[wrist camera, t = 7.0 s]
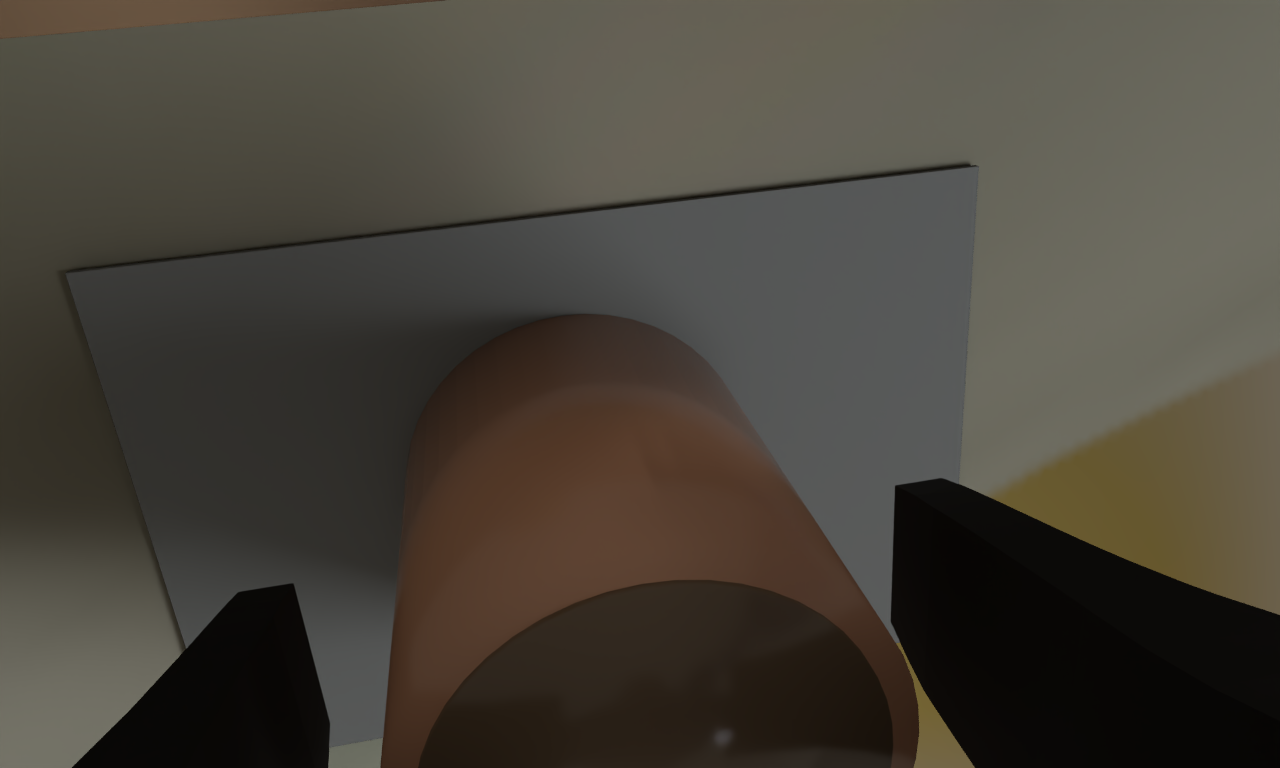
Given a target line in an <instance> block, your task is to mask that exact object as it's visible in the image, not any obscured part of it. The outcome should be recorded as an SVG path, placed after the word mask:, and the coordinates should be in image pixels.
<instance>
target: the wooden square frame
mask: <svg viewBox="0 0 1280 768" xmlns="http://www.w3.org/2000/svg"><path fill="white" fill-rule="evenodd" d="M432 1H444V0H0V39H3V38H15V37H26V36H38V35H49V34H61V33H73V32H84V31H96V30H107V29H119V28H131V27H142V26H154V25H165V24H177V23H189V22H200V21H212V20H223V19H235V18H247V17H258V16H270V15H281V14H293V13H305V12H316V11H328V10H339V9H351V8H363V7H374V6H386V5H397V4H409V3H421V2H432Z"/></svg>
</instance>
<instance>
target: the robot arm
mask: <svg viewBox="0 0 1280 768" xmlns="http://www.w3.org/2000/svg"><path fill="white" fill-rule="evenodd" d="M891 624H892V626H893V628H894V630H895V632H896V635H897V637H898V639H899V641H900V643H901V645H902V647H903V649H904V652H905V654H906V656H907V658H908V660H909V662H910V664H911V666H912V668H913V670H914V672H915V674H916V676H917V678H918V680H919V682H920V684H921V686H922V687H923V690H924V691H925V693H926V694H927V696H928V697H929V699H930V701H931V702H932V704H933V705H934V707H935V708H936V710H937V711H938V713H939V714H940V716H941V717H942V719H943V721H944V722H945V723H946V725H947V726H948V728H949V729H950V731H951V733H952V734H953V736H954V737H955V739H956V740H957V742H958V743H959V744H960V746H961V748H962V749H963V751H964V752H965V753H966V755H967V756H968V758H969V759H970V761H971V762H972V764H973V765H974V767H975V768H1280V615H1277V614H1275V613H1272V612H1269V611H1266V610H1263V609H1259V608H1256V607H1253V606H1250V605H1247V604H1244V603H1241V602H1238V601H1235V600H1232V599H1229V598H1226V597H1223V596H1220V595H1216V594H1214V593H1211V592H1208V591H1206V590H1203V589H1200V588H1197V587H1194V586H1192V585H1189V584H1186V583H1184V582H1181V581H1178V580H1176V579H1173V578H1171V577H1168V576H1166V575H1163V574H1161V573H1158V572H1156V571H1153V570H1151V569H1148V568H1146V567H1143V566H1141V565H1138V564H1136V563H1133V562H1131V561H1128V560H1126V559H1124V558H1121V557H1119V556H1117V555H1114V554H1112V553H1110V552H1107V551H1105V550H1103V549H1100V548H1098V547H1096V546H1094V545H1091V544H1089V543H1087V542H1085V541H1082V540H1080V539H1078V538H1076V537H1074V536H1071V535H1069V534H1067V533H1065V532H1063V531H1060V530H1058V529H1056V528H1054V527H1051V526H1050V525H1047V524H1045V523H1043V522H1041V521H1039V520H1037V519H1034V518H1032V517H1030V516H1028V515H1026V514H1024V513H1022V512H1020V511H1017V510H1015V509H1013V508H1011V507H1009V506H1007V505H1005V504H1003V503H1000V502H998V501H996V500H994V499H992V498H989V497H987V496H985V495H983V494H981V493H978V492H976V491H974V490H972V489H969V488H967V487H965V486H962V485H960V484H957V483H955V482H952V481H949V480H946V479H943V478H938V479H932V480H925V481H919V482H913V483H907V484H901V485H895V498H894V529H893V560H892V592H891ZM329 740H330V720H329V717H328V713H327V709H326V705H325V701H324V697H323V694H322V690H321V686H320V682H319V678H318V674H317V671H316V667H315V663H314V659H313V655H312V651H311V648H310V644H309V640H308V636H307V632H306V629H305V625H304V621H303V617H302V613H301V609H300V606H299V602H298V598H297V594H296V590H295V586H294V583H290V584H284V585H278V586H272V587H266V588H259V589H253V590H247V591H241V592H238V593H237V594H236V595H235V596H234V597H233V598H232V599H231V600H230V601H229V602H228V603H227V604H226V605H225V606H224V607H223V608H222V609H221V611H220V612H219V613H218V614H217V615H216V616H215V617H214V618H213V619H212V621H211V622H210V623H209V624H208V625H207V626H206V627H205V628H204V629H203V631H202V632H201V633H200V634H199V635H198V636H197V637H196V638H195V640H194V641H193V642H192V643H191V644H190V645H189V646H188V647H187V649H186V650H185V651H184V652H183V653H182V654H181V655H180V656H179V658H178V659H177V660H176V661H175V662H174V663H173V664H172V665H171V666H170V667H169V668H168V669H167V671H166V672H165V673H164V674H163V675H162V676H161V677H160V678H159V679H158V680H157V681H156V683H155V684H154V685H153V686H152V687H151V688H150V689H149V690H148V691H147V692H146V693H145V694H144V696H143V697H142V698H141V699H140V700H139V701H138V702H137V703H136V704H135V705H134V706H133V707H132V708H131V709H130V711H129V712H128V713H127V714H126V715H125V716H124V717H123V718H122V719H121V720H120V721H119V722H118V723H116V724H115V725H114V726H113V727H112V728H111V729H110V730H109V731H108V732H107V733H106V734H105V735H104V736H103V737H102V738H101V739H100V740H99V741H98V742H97V743H96V744H95V745H94V746H93V747H92V748H91V749H90V750H89V751H88V752H87V753H86V754H85V755H84V756H83V757H82V758H81V759H80V760H79V761H78V762H77V763H76V764H75V765H74V766H73V767H72V768H328V760H329Z"/></svg>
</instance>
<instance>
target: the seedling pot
mask: <svg viewBox="0 0 1280 768" xmlns="http://www.w3.org/2000/svg"><path fill="white" fill-rule="evenodd" d="M918 719H919V716H918V703H917V698H916V693H915V689H914V683H913V679H912V677H911V674H910V671H909V669H908V667H907V664H906V662H905V659H904V656H903V654H902V653H901V651H900V649H899V648H898V646H897V645H896V643H895V641H894V640H893V638H892V636H891V635H890V633H889V631H888V630H887V628H886V627H885V625H884V624H883V622H882V621H881V619H880V618H879V616H878V615H877V613H876V612H875V610H874V609H873V607H872V606H871V604H870V603H869V601H868V600H867V598H866V597H865V595H864V594H863V592H862V591H861V589H860V588H859V586H858V584H857V583H856V581H855V580H854V578H853V577H852V575H851V574H850V572H849V571H848V569H847V568H846V566H845V565H844V563H843V562H842V560H841V559H840V557H839V556H838V554H837V553H836V551H835V550H834V548H833V547H832V545H831V544H830V542H829V541H828V539H827V538H826V536H825V535H824V533H823V531H822V530H821V528H820V527H819V525H818V524H817V522H816V521H815V519H814V518H813V516H812V515H811V513H810V512H809V510H808V509H807V507H806V506H805V504H804V503H803V501H802V500H801V498H800V497H799V495H798V494H797V492H796V491H795V489H794V488H793V486H792V485H791V483H790V482H789V480H788V478H787V477H786V475H785V474H784V472H783V471H782V469H781V468H780V466H779V465H778V463H777V462H776V460H775V459H774V457H773V456H772V454H771V453H770V451H769V450H768V448H767V447H766V445H765V444H764V442H763V441H762V439H761V438H760V436H759V435H758V433H757V432H756V430H755V429H754V427H753V425H752V424H751V422H750V421H749V419H748V418H747V416H746V415H745V413H744V412H743V410H742V409H741V407H740V406H739V404H738V403H737V401H736V400H735V398H734V397H733V395H732V394H731V392H730V391H729V389H728V388H727V386H726V385H725V383H724V382H723V380H722V379H721V377H720V376H719V375H718V373H717V372H716V371H715V370H714V369H713V368H712V366H711V365H710V364H709V363H708V362H707V361H706V360H705V359H704V358H703V357H702V356H701V355H699V354H698V353H697V352H696V351H695V350H694V349H693V348H692V347H690V346H688V345H687V344H685V343H684V342H682V341H681V340H679V339H678V338H676V337H675V336H673V335H671V334H669V333H667V332H665V331H663V330H661V329H658V328H656V327H654V326H651V325H648V324H645V323H642V322H639V321H636V320H633V319H628V318H622V317H617V316H611V315H596V314H579V315H565V316H558V317H553V318H548V319H543V320H538V321H535V322H532V323H529V324H526V325H523V326H520V327H517V328H515V329H513V330H510V331H508V332H506V333H504V334H502V335H500V336H498V337H496V338H494V339H492V340H491V341H489V342H487V343H486V344H484V345H483V346H481V347H480V348H478V349H477V350H475V351H474V352H472V353H471V354H470V355H469V356H468V357H466V358H465V359H464V360H463V361H462V362H460V363H459V364H458V365H457V366H456V367H455V368H454V369H453V370H452V371H451V372H450V373H449V374H448V375H447V377H446V378H445V379H444V380H443V381H442V382H441V383H440V384H439V386H438V387H437V389H436V390H435V392H434V393H433V395H432V396H431V397H430V399H429V400H428V402H427V404H426V406H425V408H424V410H423V412H422V414H421V416H420V418H419V420H418V422H417V425H416V428H415V431H414V434H413V437H412V439H411V443H410V449H409V454H408V460H407V469H406V480H405V492H404V503H403V515H402V526H401V538H400V549H399V561H398V572H397V584H396V595H395V607H394V618H393V630H392V641H391V653H390V664H389V676H388V687H387V699H386V710H385V722H384V733H383V745H382V756H381V768H913V767H914V763H915V760H916V753H917V745H918V737H919V720H918Z"/></svg>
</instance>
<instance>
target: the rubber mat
mask: <svg viewBox="0 0 1280 768" xmlns="http://www.w3.org/2000/svg"><path fill="white" fill-rule="evenodd" d="M978 170H979V166H976V165H972V166H963V167H955V168H946V169H938V170H929V171H921V172H912V173H904V174H895V175H886V176H878V177H869V178H861V179H852V180H844V181H835V182H827V183H818V184H809V185H801V186H792V187H784V188H775V189H767V190H758V191H750V192H741V193H732V194H724V195H715V196H707V197H698V198H690V199H681V200H673V201H664V202H655V203H647V204H638V205H630V206H621V207H613V208H604V209H596V210H587V211H578V212H570V213H561V214H553V215H544V216H536V217H527V218H519V219H510V220H501V221H493V222H484V223H476V224H467V225H459V226H450V227H442V228H433V229H424V230H416V231H407V232H399V233H390V234H382V235H373V236H365V237H356V238H347V239H339V240H330V241H322V242H313V243H305V244H296V245H288V246H279V247H270V248H262V249H253V250H245V251H236V252H228V253H219V254H211V255H202V256H193V257H185V258H176V259H168V260H159V261H151V262H142V263H134V264H125V265H116V266H108V267H99V268H91V269H82V270H74V271H68V272H66V273H65V274H66V277H67V280H68V283H69V287H70V290H71V293H72V296H73V299H74V302H75V305H76V308H77V311H78V314H79V318H80V321H81V324H82V327H83V330H84V333H85V336H86V339H87V342H88V345H89V349H90V352H91V355H92V358H93V361H94V364H95V367H96V370H97V373H98V376H99V380H100V383H101V386H102V389H103V392H104V395H105V398H106V401H107V404H108V408H109V411H110V414H111V417H112V420H113V423H114V426H115V429H116V432H117V435H118V439H119V442H120V445H121V448H122V451H123V454H124V457H125V460H126V463H127V466H128V470H129V473H130V476H131V479H132V482H133V485H134V488H135V491H136V494H137V497H138V501H139V504H140V507H141V510H142V513H143V516H144V519H145V522H146V525H147V528H148V532H149V535H150V538H151V541H152V544H153V547H154V550H155V553H156V556H157V560H158V563H159V566H160V569H161V572H162V575H163V578H164V581H165V584H166V587H167V591H168V594H169V597H170V600H171V603H172V606H173V609H174V612H175V615H176V618H177V622H178V625H179V628H180V631H181V634H182V637H183V640H184V643H185V646H186V649H187V647H188V646H189V645H190V644H191V643H192V642H193V641H194V640H195V638H196V637H197V636H198V635H199V634H200V633H201V632H202V631H203V629H204V628H205V627H206V626H207V625H208V624H209V623H210V622H211V621H212V619H213V618H214V617H215V616H216V615H217V614H218V613H219V612H220V611H221V609H222V608H223V607H224V606H225V605H226V604H227V603H228V602H229V601H230V600H231V599H232V598H233V597H234V596H235V595H236V594H237V593H238V592H241V591H247V590H253V589H259V588H266V587H272V586H278V585H284V584H290V583H294V586H295V590H296V594H297V598H298V602H299V606H300V609H301V613H302V617H303V621H304V625H305V629H306V632H307V636H308V640H309V644H310V648H311V651H312V655H313V659H314V663H315V667H316V671H317V674H318V678H319V682H320V686H321V690H322V694H323V697H324V701H325V705H326V709H327V713H328V717H329V720H330V740H329V747H335V746H340V745H346V744H351V743H357V742H362V741H367V740H373V739H378V738H383V733H384V722H385V710H386V699H387V687H388V676H389V664H390V653H391V641H392V630H393V618H394V607H395V595H396V584H397V572H398V561H399V549H400V538H401V526H402V515H403V503H404V492H405V480H406V469H407V460H408V454H409V449H410V443H411V439H412V437H413V434H414V431H415V428H416V425H417V422H418V420H419V418H420V416H421V414H422V412H423V410H424V408H425V406H426V404H427V402H428V400H429V399H430V397H431V396H432V395H433V393H434V392H435V390H436V389H437V387H438V386H439V384H440V383H441V382H442V381H443V380H444V379H445V378H446V377H447V375H448V374H449V373H450V372H451V371H452V370H453V369H454V368H455V367H456V366H457V365H458V364H459V363H460V362H462V361H463V360H464V359H465V358H466V357H468V356H469V355H470V354H471V353H472V352H474V351H475V350H477V349H478V348H480V347H481V346H483V345H484V344H486V343H487V342H489V341H491V340H492V339H494V338H496V337H498V336H500V335H502V334H504V333H506V332H508V331H510V330H513V329H515V328H517V327H520V326H523V325H526V324H529V323H532V322H535V321H538V320H543V319H548V318H553V317H558V316H565V315H579V314H596V315H611V316H617V317H622V318H628V319H633V320H636V321H639V322H642V323H645V324H648V325H651V326H654V327H656V328H658V329H661V330H663V331H665V332H667V333H669V334H671V335H673V336H675V337H676V338H678V339H679V340H681V341H682V342H684V343H685V344H687V345H688V346H690V347H692V348H693V349H694V350H695V351H696V352H697V353H698V354H699V355H701V356H702V357H703V358H704V359H705V360H706V361H707V362H708V363H709V364H710V365H711V366H712V368H713V369H714V370H715V371H716V372H717V373H718V375H719V376H720V377H721V379H722V380H723V382H724V383H725V385H726V386H727V388H728V389H729V391H730V392H731V394H732V395H733V397H734V398H735V400H736V401H737V403H738V404H739V406H740V407H741V409H742V410H743V412H744V413H745V415H746V416H747V418H748V419H749V421H750V422H751V424H752V425H753V427H754V429H755V430H756V432H757V433H758V435H759V436H760V438H761V439H762V441H763V442H764V444H765V445H766V447H767V448H768V450H769V451H770V453H771V454H772V456H773V457H774V459H775V460H776V462H777V463H778V465H779V466H780V468H781V469H782V471H783V472H784V474H785V475H786V477H787V478H788V480H789V482H790V483H791V485H792V486H793V488H794V489H795V491H796V492H797V494H798V495H799V497H800V498H801V500H802V501H803V503H804V504H805V506H806V507H807V509H808V510H809V512H810V513H811V515H812V516H813V518H814V519H815V521H816V522H817V524H818V525H819V527H820V528H821V530H822V531H823V533H824V535H825V536H826V538H827V539H828V541H829V542H830V544H831V545H832V547H833V548H834V550H835V551H836V553H837V554H838V556H839V557H840V559H841V560H842V562H843V563H844V565H845V566H846V568H847V569H848V571H849V572H850V574H851V575H852V577H853V578H854V580H855V581H856V583H857V584H858V586H859V588H860V589H861V591H862V592H863V594H864V595H865V597H866V598H867V600H868V601H869V603H870V604H871V606H872V607H873V609H874V610H875V612H876V613H877V615H878V616H879V618H880V619H881V621H882V622H883V624H884V625H885V627H886V628H887V630H888V631H889V633H890V635H891V636H892V638H893V640H894V641H895V643H899V642H900V641H899V639H898V637H897V635H896V632H895V630H894V628H893V626H892V624H891V592H892V560H893V529H894V498H895V485H901V484H907V483H913V482H919V481H925V480H932V479H938V478H943V479H946V480H949V481H952V482H955V483H957V484H959V473H960V457H961V441H962V425H963V409H964V393H965V377H966V361H967V345H968V330H969V314H970V298H971V282H972V266H973V250H974V234H975V218H976V202H977V186H978Z"/></svg>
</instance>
